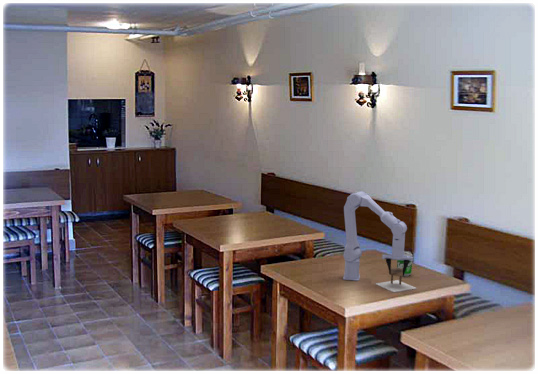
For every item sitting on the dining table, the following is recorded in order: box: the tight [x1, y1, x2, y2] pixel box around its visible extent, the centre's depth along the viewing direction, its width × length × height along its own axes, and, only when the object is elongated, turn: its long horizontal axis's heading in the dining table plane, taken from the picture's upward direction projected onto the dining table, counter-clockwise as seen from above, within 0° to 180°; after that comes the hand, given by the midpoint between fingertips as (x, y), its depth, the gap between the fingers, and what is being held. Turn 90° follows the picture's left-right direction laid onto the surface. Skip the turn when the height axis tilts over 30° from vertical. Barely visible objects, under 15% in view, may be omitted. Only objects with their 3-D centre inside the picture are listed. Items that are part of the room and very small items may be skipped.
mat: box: [375, 279, 417, 293], centre depth 316 cm, size 14×14×1 cm
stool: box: [390, 266, 404, 285], centre depth 315 cm, size 6×9×6 cm, turn 168°
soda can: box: [396, 250, 414, 277], centre depth 336 cm, size 8×8×12 cm
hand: (396, 274), depth 315 cm, fingers closed on stool, 6 cm apart
